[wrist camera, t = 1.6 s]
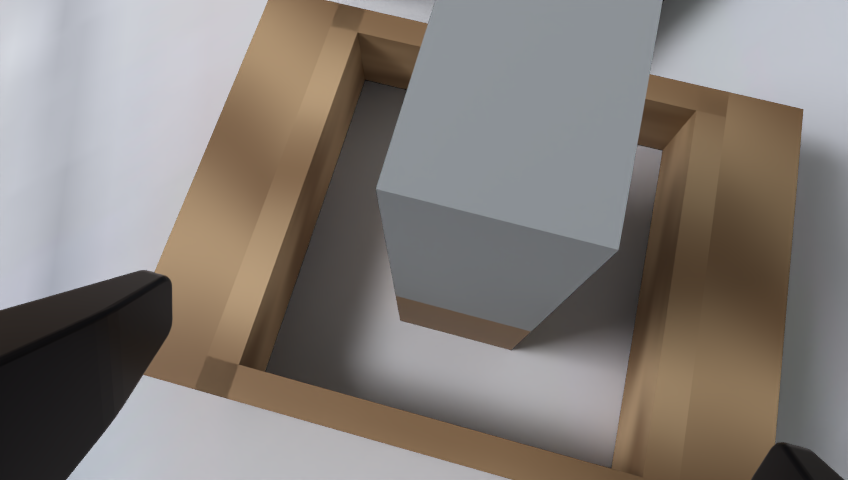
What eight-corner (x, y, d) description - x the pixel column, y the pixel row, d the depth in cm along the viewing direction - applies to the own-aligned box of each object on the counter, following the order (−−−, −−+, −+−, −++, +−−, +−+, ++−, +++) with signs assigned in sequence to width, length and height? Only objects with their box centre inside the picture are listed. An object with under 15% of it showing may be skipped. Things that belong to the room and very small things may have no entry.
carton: (714, 533, 19) (765, 551, 16) (157, 375, 21) (114, 366, 18) (756, 148, 23) (803, 109, 20) (290, 39, 25) (273, -12, 22)
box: (511, 349, 21) (618, 250, 10) (400, 320, 21) (375, 189, 10) (545, 195, 23) (670, -46, 11) (442, 169, 23) (463, -90, 12)
